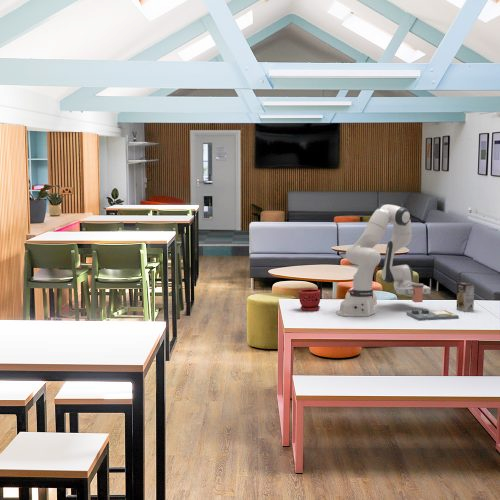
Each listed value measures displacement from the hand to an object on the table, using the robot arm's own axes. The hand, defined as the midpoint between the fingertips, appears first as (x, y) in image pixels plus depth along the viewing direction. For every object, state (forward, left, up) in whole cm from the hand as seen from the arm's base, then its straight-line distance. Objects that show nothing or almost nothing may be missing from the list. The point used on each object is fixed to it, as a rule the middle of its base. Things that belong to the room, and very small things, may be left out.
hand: (418, 292), depth 455 cm
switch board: (+2, -15, -12) cm, 19 cm away
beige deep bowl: (-23, +36, -12) cm, 44 cm away
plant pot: (-60, +22, -12) cm, 65 cm away
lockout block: (0, +1, -6) cm, 6 cm away
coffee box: (+29, -1, -12) cm, 31 cm away
